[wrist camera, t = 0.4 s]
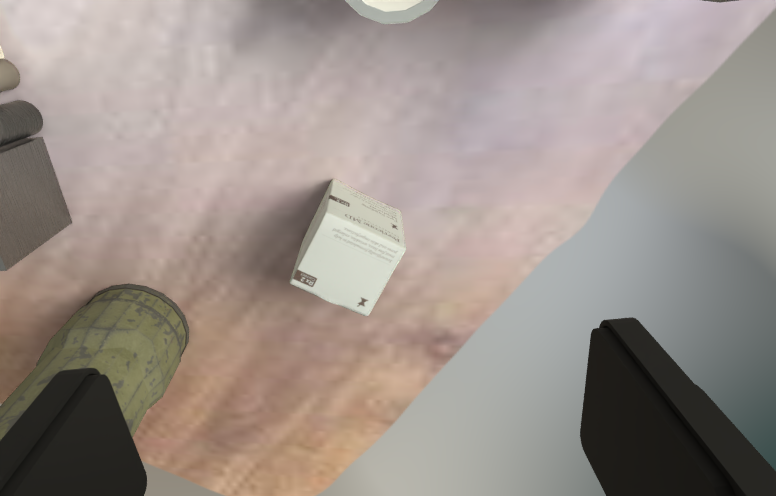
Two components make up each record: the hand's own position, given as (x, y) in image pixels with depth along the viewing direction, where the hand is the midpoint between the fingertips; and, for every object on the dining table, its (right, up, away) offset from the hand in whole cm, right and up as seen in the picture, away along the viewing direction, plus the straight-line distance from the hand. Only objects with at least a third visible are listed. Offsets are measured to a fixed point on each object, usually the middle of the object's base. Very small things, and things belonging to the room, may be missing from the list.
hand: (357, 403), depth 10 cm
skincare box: (-2, +5, +31) cm, 31 cm away
